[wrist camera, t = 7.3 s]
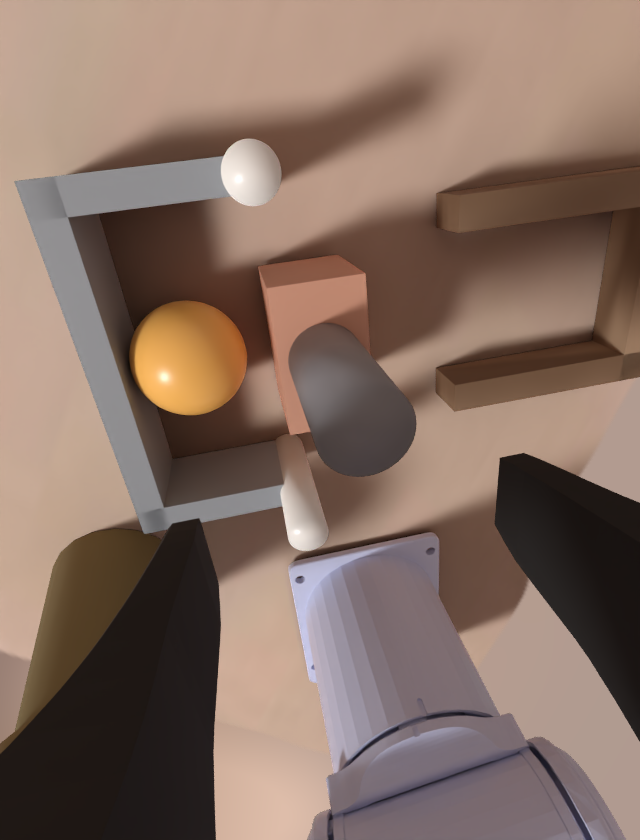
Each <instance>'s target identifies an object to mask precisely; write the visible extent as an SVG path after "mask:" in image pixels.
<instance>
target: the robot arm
mask: <svg viewBox="0 0 640 840" xmlns="http://www.w3.org/2000/svg"><path fill="white" fill-rule="evenodd" d="M495 526H496V527H497V529H498V531H499V533H500V535H501V536H502V538H503V540H504V542H505V544H506V545H507V547H508V549H509V550H510V552H511V554H512V556H513V557H514V559H515V560H516V562H517V563H518V564H519V566H520V567H521V569H522V570H523V571H524V573H525V574H526V575H527V577H528V578H529V579H530V581H531V582H532V583H533V584H534V586H535V587H536V588H537V590H538V591H539V592H540V594H541V595H542V596H543V598H544V599H545V600H546V601H547V603H548V604H549V605H550V607H551V608H552V609H553V611H554V612H555V613H556V615H557V616H558V617H559V618H560V620H561V621H562V622H563V624H564V625H565V626H566V627H567V629H568V630H569V631H570V632H571V634H572V635H573V637H574V638H575V639H576V641H577V642H578V643H579V645H580V646H581V648H582V649H583V650H584V652H585V653H586V655H587V656H588V657H589V659H590V661H591V662H592V664H593V666H594V667H595V668H596V670H597V672H598V674H599V675H600V677H601V678H602V680H603V681H604V683H605V685H606V686H607V688H608V689H609V691H610V693H611V694H612V696H613V697H614V699H615V701H616V702H617V704H618V706H619V707H620V709H621V711H622V712H623V714H624V716H625V718H626V719H627V721H628V723H629V724H630V726H631V728H632V729H633V731H634V733H635V734H636V736H637V738H638V740H639V741H640V503H639V502H636V501H634V500H631V499H629V498H627V497H624V496H622V495H619V494H617V493H614V492H612V491H610V490H608V489H605V488H603V487H601V486H599V485H596V484H594V483H592V482H589V481H587V480H585V479H583V478H581V477H578V476H576V475H574V474H572V473H570V472H567V471H565V470H563V469H561V468H559V467H556V466H554V465H552V464H549V463H547V462H545V461H543V460H540V459H538V458H535V457H533V456H530V455H528V454H525V453H522V454H517V455H512V456H507V457H502V458H500V464H499V476H498V489H497V501H496V514H495ZM431 547H432V548H431ZM428 548H431V549H429V550H427V549H428ZM288 571H289V576H290V581H291V587H292V592H293V597H294V602H295V607H296V613H297V618H298V623H299V628H300V633H301V639H302V644H303V649H304V654H305V659H306V665H307V670H308V675H309V679H310V681H312V682H314V683H317V685H318V690H319V695H320V701H321V706H322V712H323V717H324V722H325V728H326V733H327V738H328V744H329V749H330V755H331V759H332V765H333V770H334V774H332V775H329V776H328V777H327V778H326V782H327V788H328V794H329V800H330V805H331V810H330V809H329V810H326V811H323V812H320V813H319V814H317V815H316V816H315V818H314V821H313V824H312V829H311V831H310V833H309V836H308V838H307V840H626V838H625V837H624V835H623V833H622V831H621V829H620V827H619V826H618V824H617V822H616V820H615V819H614V817H613V815H612V813H611V812H610V810H609V808H608V807H607V805H606V804H605V802H604V800H603V798H602V797H601V795H600V794H599V792H598V791H597V789H596V788H595V786H594V785H593V783H592V782H591V780H590V779H589V778H588V776H587V775H586V774H585V772H584V771H583V770H582V768H581V767H580V766H579V765H578V764H577V762H576V761H575V760H574V759H573V758H572V757H571V756H570V755H568V754H567V753H566V752H565V751H563V750H561V749H560V748H558V747H556V746H554V745H553V744H552V743H551V742H550V741H548V740H546V739H545V738H543V737H534V738H532V739H528V740H525V738H524V736H523V734H522V732H521V731H520V728H519V727H518V725H517V723H516V721H515V719H514V717H513V715H512V714H510V713H508V714H504V715H501V716H500V714H499V712H498V710H497V708H496V707H495V705H494V703H493V701H492V699H491V697H490V695H489V693H488V691H487V689H486V687H485V685H484V683H483V682H482V679H481V677H480V676H479V674H478V672H477V670H476V668H475V666H474V664H473V662H472V660H471V658H470V656H469V654H468V652H467V650H466V648H465V646H464V644H463V642H462V640H461V639H460V637H459V635H458V633H457V631H456V629H455V627H454V625H453V623H452V621H451V619H450V617H449V615H448V613H447V611H446V609H445V607H444V605H443V604H442V602H441V600H440V598H439V539H438V537H437V535H436V534H435V533H432V532H428V533H423V534H418V535H414V536H409V537H404V538H400V539H395V540H390V541H386V542H381V543H376V544H372V545H367V546H362V547H358V548H353V549H348V550H344V551H339V552H334V553H330V554H325V555H320V556H316V557H311V558H306V559H302V560H297V561H294V562H292V563H291V564H290V565H289V568H288ZM298 576H303V577H301V578H297V577H298ZM220 631H221V620H220V599H219V583H218V580H217V576H216V573H215V569H214V566H213V563H212V559H211V556H210V552H209V549H208V545H207V542H206V539H205V535H204V532H203V528H202V525H201V521H200V518H197V519H192V520H187V521H182V522H177V523H172V524H171V526H170V527H169V528H168V530H167V532H166V534H165V535H164V537H163V539H162V541H161V543H160V545H159V546H158V548H157V550H156V552H155V553H154V555H153V557H152V559H151V560H150V562H149V564H148V566H147V567H146V569H145V571H144V572H143V574H142V576H141V577H140V579H139V580H138V582H137V584H136V585H135V587H134V588H133V590H132V592H131V593H130V595H129V597H128V598H127V600H126V601H125V603H124V604H123V606H122V607H121V609H120V610H119V612H118V613H117V614H116V616H115V617H114V619H113V620H112V622H111V623H110V625H109V626H108V628H107V629H106V630H105V632H104V633H103V635H102V636H101V638H100V639H99V640H98V642H97V643H96V644H95V646H94V647H93V648H92V650H91V651H90V652H89V654H88V655H87V656H86V658H85V659H84V660H83V661H82V663H81V664H80V665H79V667H78V668H77V669H76V670H75V671H74V673H73V674H72V675H71V676H70V678H69V679H68V680H67V681H66V683H65V684H64V685H63V686H62V687H61V689H60V690H59V691H58V692H57V693H56V694H55V695H54V697H53V698H52V699H51V700H50V701H49V702H48V703H47V704H46V706H45V707H44V708H43V709H42V710H41V711H40V712H39V713H38V714H37V715H36V716H35V718H34V719H33V720H32V721H31V722H30V723H29V724H28V725H27V726H26V727H25V729H24V730H23V731H22V732H21V733H20V734H19V735H18V736H17V737H16V738H15V739H14V740H13V742H12V743H11V744H10V745H9V746H8V747H7V748H6V749H5V750H4V751H3V752H2V753H1V754H0V840H216V832H215V801H214V760H213V749H214V722H215V708H216V693H217V678H218V663H219V647H220Z"/></svg>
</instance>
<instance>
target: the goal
mask: <svg viewBox="0 0 640 840" xmlns="http://www.w3.org/2000/svg"><path fill="white" fill-rule="evenodd" d="M281 176H282V173H281V166H280V162H279V160H278V157H277V156H276V154H275V153H274V151H273V150H272V149H271V148H270V147H269V146H268V145H267V144H265V143H264V142H262V141H259V140H256V139H242V140H239V141H237V142H235V143H234V144H233V145H231V146H230V147H229V148H228V150H227V151H226V153H225V155H224V156H220V157H212V158H204V159H195V160H187V161H179V162H170V163H162V164H154V165H145V166H137V167H129V168H120V169H112V170H104V171H95V172H87V173H79V174H70V175H62V176H54V177H45V178H37V179H29V180H20V181H14V182H15V184H16V187H17V190H18V193H19V195H20V198H21V201H22V204H23V206H24V209H25V212H26V214H27V217H28V220H29V223H30V225H31V228H32V231H33V233H34V236H35V239H36V242H37V244H38V247H39V250H40V252H41V255H42V258H43V261H44V263H45V266H46V269H47V272H48V274H49V277H50V280H51V282H52V285H53V288H54V291H55V293H56V296H57V299H58V301H59V304H60V307H61V310H62V312H63V315H64V318H65V320H66V323H67V326H68V329H69V331H70V334H71V337H72V340H73V342H74V345H75V348H76V350H77V353H78V356H79V359H80V361H81V364H82V367H83V369H84V372H85V375H86V378H87V380H88V383H89V386H90V388H91V391H92V394H93V397H94V399H95V402H96V405H97V408H98V410H99V413H100V416H101V418H102V421H103V424H104V427H105V429H106V432H107V435H108V437H109V440H110V443H111V446H112V448H113V451H114V454H115V456H116V459H117V462H118V465H119V467H120V470H121V473H122V476H123V478H124V481H125V484H126V486H127V489H128V492H129V495H130V497H131V500H132V503H133V505H134V508H135V511H136V514H137V516H138V519H139V522H140V524H141V527H142V530H143V533H144V534H147V533H152V532H157V531H162V530H167V529H168V528H169V527H170V526H171V524H172V523H177V522H182V521H187V520H192V519H197V518H200V521H201V523H202V522H207V521H212V520H217V519H222V518H227V517H232V516H237V515H242V514H247V513H252V512H257V511H262V510H267V509H272V508H277V507H283V512H284V518H285V523H286V529H287V534H288V540H289V542H290V544H291V545H292V546H293V547H294V548H295V549H298V550H301V551H310V550H314V549H317V548H319V547H320V546H322V545H323V544H324V543H325V542H326V540H327V538H328V535H329V530H328V526H327V523H326V520H325V516H324V513H323V509H322V506H321V503H320V499H319V496H318V493H317V489H316V486H315V483H314V479H313V476H312V473H311V469H310V466H309V463H308V459H307V456H306V453H305V449H304V446H303V443H302V441H301V439H300V438H299V437H298V436H296V435H290V434H284V435H281V436H279V437H278V438H277V439H276V440H273V441H267V442H262V443H257V444H251V445H246V446H241V447H235V448H230V449H224V450H219V451H214V452H208V453H203V454H197V455H192V456H187V457H181V458H176V459H173V458H172V455H171V452H170V448H169V445H168V442H167V438H166V435H165V432H164V428H163V425H162V422H161V419H160V415H159V412H158V409H157V405H155V404H154V403H153V402H151V401H150V400H149V399H148V398H147V397H146V396H145V395H144V394H143V393H142V391H141V390H140V389H139V387H138V386H137V384H136V382H135V380H134V378H133V375H132V372H131V369H130V362H129V350H130V343H131V339H132V337H133V335H134V329H133V326H132V323H131V319H130V316H129V313H128V309H127V306H126V303H125V299H124V296H123V293H122V289H121V286H120V283H119V280H118V276H117V273H116V270H115V266H114V263H113V260H112V256H111V253H110V250H109V246H108V243H107V240H106V236H105V233H104V230H103V227H102V223H101V220H100V217H99V213H106V212H113V211H121V210H129V209H137V208H144V207H152V206H160V205H168V204H175V203H183V202H191V201H198V200H206V199H214V198H222V197H229V196H231V197H232V198H233V199H235V200H236V201H237V202H239V203H241V204H244V205H247V206H260V205H263V204H265V203H267V202H268V201H270V200H271V199H272V198H273V197H274V196H275V194H276V193H277V191H278V189H279V187H280V183H281Z"/></svg>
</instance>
